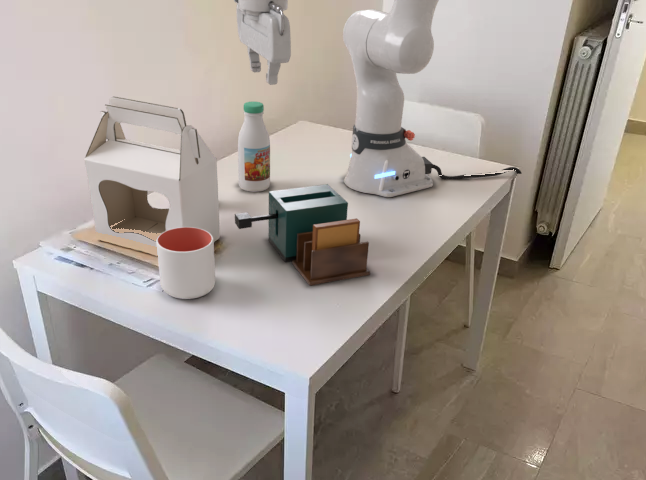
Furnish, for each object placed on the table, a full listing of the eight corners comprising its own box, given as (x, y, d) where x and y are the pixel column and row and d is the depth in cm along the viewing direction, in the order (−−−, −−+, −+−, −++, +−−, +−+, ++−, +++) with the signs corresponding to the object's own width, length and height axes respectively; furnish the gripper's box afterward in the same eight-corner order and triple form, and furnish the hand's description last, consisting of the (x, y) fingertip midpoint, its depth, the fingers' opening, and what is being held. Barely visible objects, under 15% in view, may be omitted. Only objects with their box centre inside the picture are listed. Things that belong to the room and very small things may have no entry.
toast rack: (350, 254, 136) (352, 223, 132) (370, 274, 129) (373, 243, 125) (292, 263, 132) (293, 232, 128) (309, 285, 125) (310, 253, 121)
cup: (163, 274, 126) (159, 226, 121) (216, 274, 127) (214, 226, 121) (158, 302, 118) (152, 252, 113) (214, 301, 119) (212, 252, 113)
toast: (352, 264, 130) (357, 218, 125) (356, 268, 129) (360, 221, 124) (310, 271, 128) (312, 224, 122) (313, 275, 126) (315, 227, 121)
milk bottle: (233, 189, 161) (231, 105, 150) (245, 178, 167) (244, 97, 156) (263, 194, 159) (263, 110, 148) (274, 183, 165) (275, 101, 154)
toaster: (285, 262, 132) (286, 211, 126) (267, 238, 140) (267, 189, 134) (344, 252, 136) (348, 202, 130) (323, 230, 144) (326, 182, 138)
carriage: (239, 229, 128) (239, 219, 127) (234, 223, 130) (234, 213, 129) (332, 215, 135) (333, 206, 133) (326, 210, 137) (327, 201, 136)
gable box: (95, 240, 137) (73, 102, 121) (134, 216, 147) (118, 85, 131) (187, 265, 130) (176, 121, 114) (221, 238, 140) (216, 102, 124)
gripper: (300, 7, 113) (298, 90, 121) (261, -11, 129) (261, 64, 136) (266, 8, 111) (265, 92, 119) (230, -11, 127) (232, 66, 134)
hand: (263, 77), depth 128 cm, fingers open, 8 cm apart
